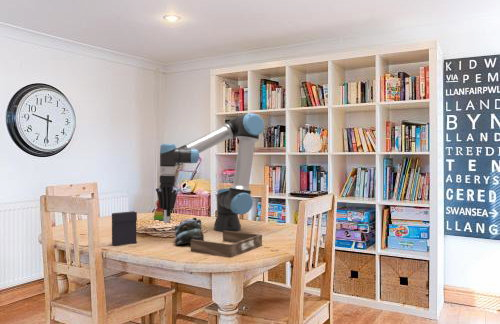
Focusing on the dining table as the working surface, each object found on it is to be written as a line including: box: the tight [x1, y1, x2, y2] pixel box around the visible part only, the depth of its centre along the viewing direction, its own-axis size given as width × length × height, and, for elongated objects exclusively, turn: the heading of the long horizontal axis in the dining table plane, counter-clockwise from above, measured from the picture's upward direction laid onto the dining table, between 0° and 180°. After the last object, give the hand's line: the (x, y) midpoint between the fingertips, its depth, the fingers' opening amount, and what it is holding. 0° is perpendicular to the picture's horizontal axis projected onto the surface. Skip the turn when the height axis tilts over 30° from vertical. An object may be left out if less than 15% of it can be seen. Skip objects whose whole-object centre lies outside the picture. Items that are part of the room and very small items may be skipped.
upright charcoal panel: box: [111, 211, 138, 247], centre depth 208 cm, size 11×4×15 cm, turn 129°
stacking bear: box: [153, 199, 172, 221], centre depth 246 cm, size 11×10×18 cm
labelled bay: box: [190, 231, 263, 258], centre depth 200 cm, size 26×22×5 cm
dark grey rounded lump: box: [173, 217, 205, 246], centre depth 210 cm, size 15×12×14 cm
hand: (166, 222), depth 217 cm, fingers closed
